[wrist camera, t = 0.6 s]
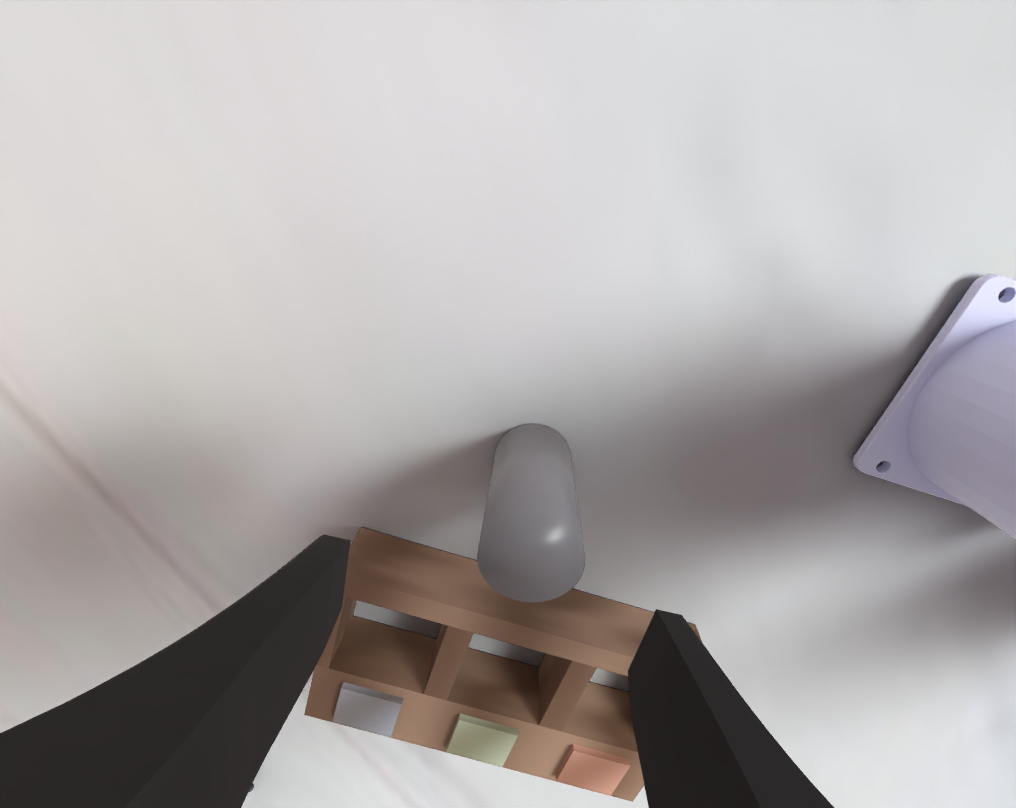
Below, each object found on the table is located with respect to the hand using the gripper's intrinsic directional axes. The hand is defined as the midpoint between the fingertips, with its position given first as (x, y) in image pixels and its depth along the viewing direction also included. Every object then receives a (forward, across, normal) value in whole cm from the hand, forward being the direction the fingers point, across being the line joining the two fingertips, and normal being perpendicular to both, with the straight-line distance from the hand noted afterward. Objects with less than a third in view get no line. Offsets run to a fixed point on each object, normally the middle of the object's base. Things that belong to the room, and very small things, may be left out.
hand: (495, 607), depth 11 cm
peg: (+9, -1, +1) cm, 10 cm away
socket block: (+9, -2, +12) cm, 15 cm away
